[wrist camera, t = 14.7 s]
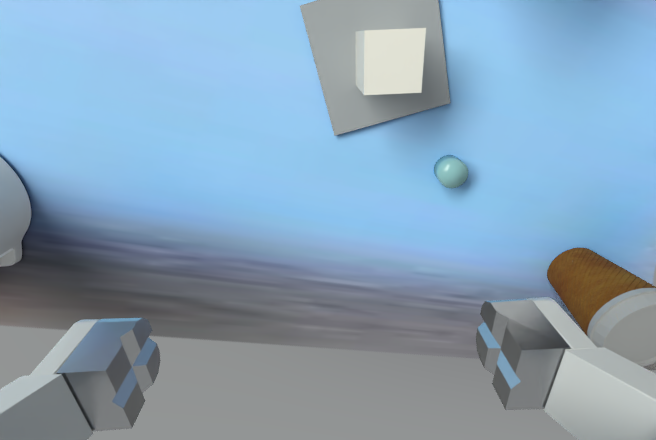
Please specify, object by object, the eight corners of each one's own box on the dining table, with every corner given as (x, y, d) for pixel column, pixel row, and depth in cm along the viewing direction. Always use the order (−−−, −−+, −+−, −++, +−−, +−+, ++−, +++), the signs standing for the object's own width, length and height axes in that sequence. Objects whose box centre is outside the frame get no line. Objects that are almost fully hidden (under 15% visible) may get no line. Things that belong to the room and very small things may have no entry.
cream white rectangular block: (355, 85, 35) (364, 95, 29) (355, 31, 33) (364, 30, 27) (402, 82, 35) (421, 92, 29) (405, 29, 33) (426, 27, 27)
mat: (334, 134, 38) (334, 135, 37) (300, 6, 33) (299, 5, 32) (448, 102, 37) (450, 103, 36) (431, -36, 31) (434, -38, 31)
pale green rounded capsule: (442, 185, 41) (448, 193, 39) (428, 166, 40) (434, 172, 38) (465, 170, 40) (473, 176, 38) (452, 149, 39) (459, 155, 37)
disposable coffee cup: (518, 280, 47) (577, 351, 36) (573, 223, 44) (657, 284, 33) (570, 307, 49) (640, 382, 39) (626, 255, 46) (720, 322, 35)
